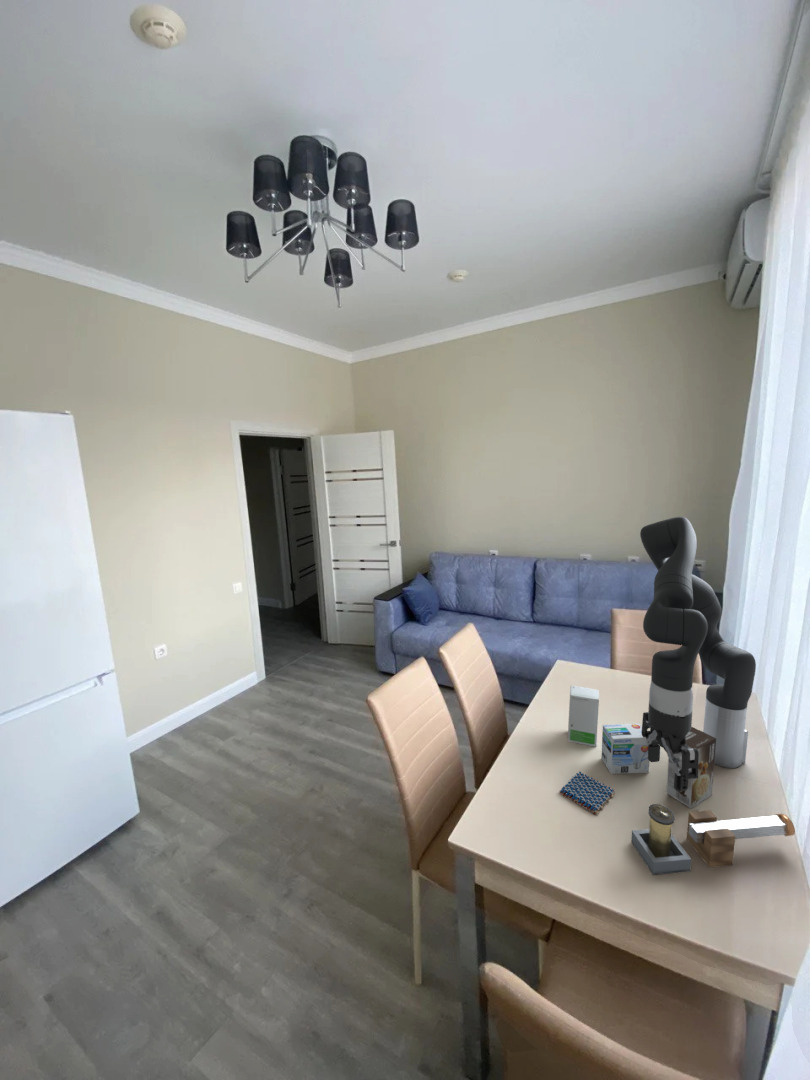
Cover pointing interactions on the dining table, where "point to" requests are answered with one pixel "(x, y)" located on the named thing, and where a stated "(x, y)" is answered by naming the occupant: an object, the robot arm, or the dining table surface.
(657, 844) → the yellow glass jar
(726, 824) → the pin
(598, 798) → the woven mat
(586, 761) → the dining table surface
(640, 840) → the box
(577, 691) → the skincare box
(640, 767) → the light bulb box
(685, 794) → the coffee box
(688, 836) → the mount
